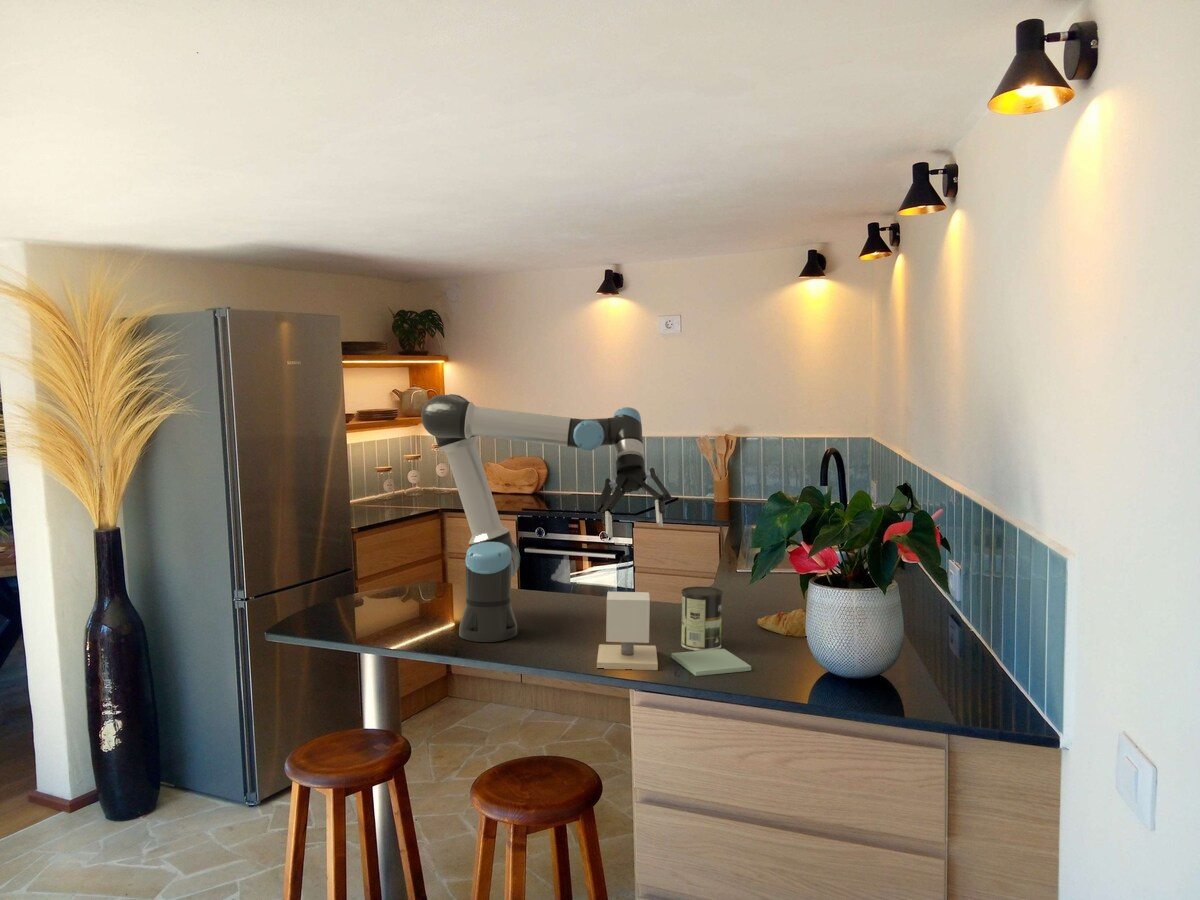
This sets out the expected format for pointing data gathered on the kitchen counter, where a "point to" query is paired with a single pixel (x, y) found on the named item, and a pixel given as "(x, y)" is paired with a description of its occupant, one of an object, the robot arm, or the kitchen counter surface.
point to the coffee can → (701, 618)
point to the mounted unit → (627, 633)
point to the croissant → (785, 623)
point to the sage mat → (710, 662)
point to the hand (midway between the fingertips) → (634, 530)
